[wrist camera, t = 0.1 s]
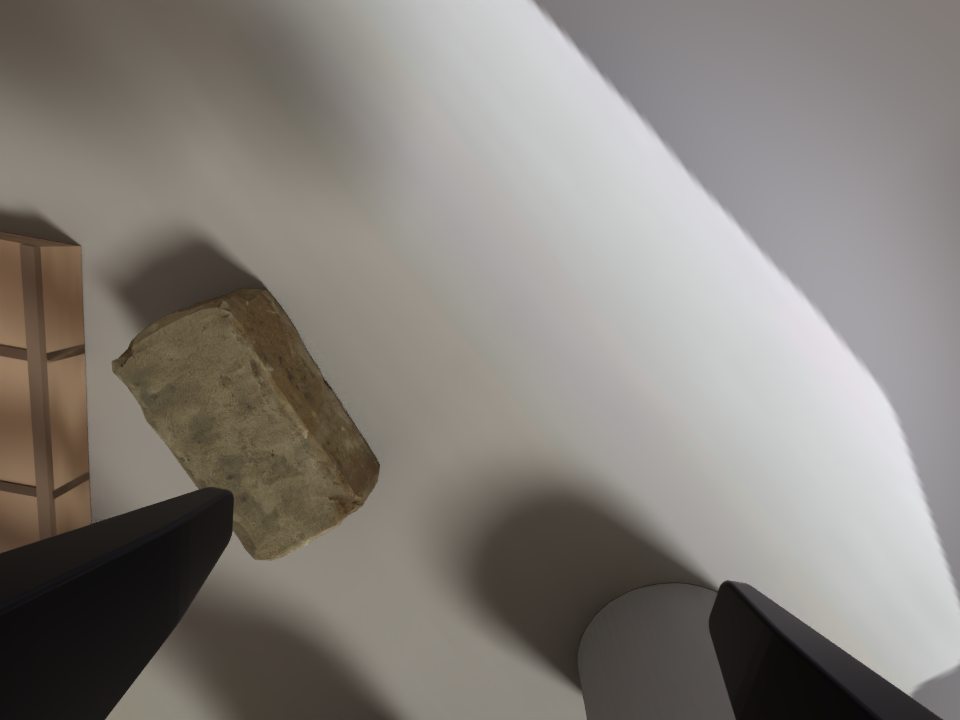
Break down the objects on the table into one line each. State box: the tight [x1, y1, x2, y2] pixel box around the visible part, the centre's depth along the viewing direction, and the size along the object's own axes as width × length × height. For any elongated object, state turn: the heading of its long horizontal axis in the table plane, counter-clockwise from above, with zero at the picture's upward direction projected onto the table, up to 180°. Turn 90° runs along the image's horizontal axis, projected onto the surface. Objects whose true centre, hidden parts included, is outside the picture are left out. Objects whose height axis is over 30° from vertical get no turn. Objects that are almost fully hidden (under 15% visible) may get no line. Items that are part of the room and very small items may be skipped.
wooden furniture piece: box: [0, 232, 91, 553], centre depth 23 cm, size 18×5×2 cm, turn 170°
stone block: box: [112, 289, 380, 560], centre depth 21 cm, size 6×12×5 cm, turn 30°
